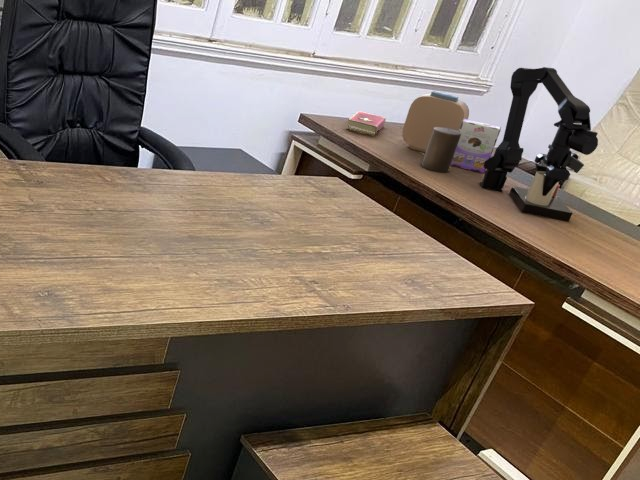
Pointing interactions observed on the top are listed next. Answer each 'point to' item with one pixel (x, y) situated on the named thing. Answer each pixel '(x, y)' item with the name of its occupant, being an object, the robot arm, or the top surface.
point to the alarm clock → (432, 118)
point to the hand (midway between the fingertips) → (541, 192)
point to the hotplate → (552, 210)
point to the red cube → (556, 190)
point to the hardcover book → (366, 122)
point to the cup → (539, 190)
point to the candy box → (475, 145)
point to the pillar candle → (441, 149)
